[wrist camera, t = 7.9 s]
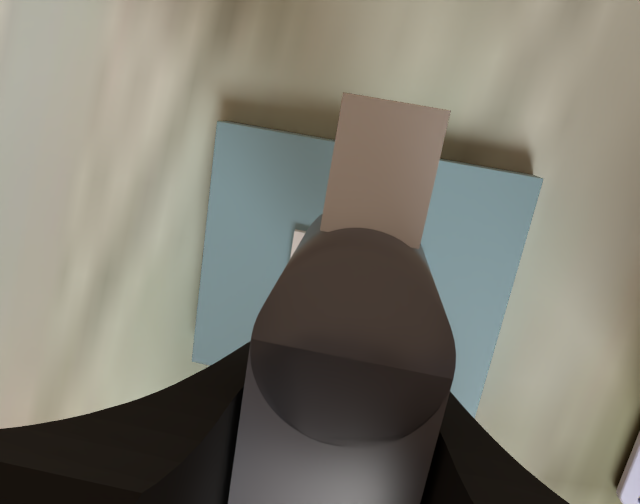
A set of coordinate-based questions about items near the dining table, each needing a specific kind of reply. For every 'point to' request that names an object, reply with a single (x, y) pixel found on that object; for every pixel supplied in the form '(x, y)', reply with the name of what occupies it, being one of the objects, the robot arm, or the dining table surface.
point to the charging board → (307, 205)
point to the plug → (353, 330)
